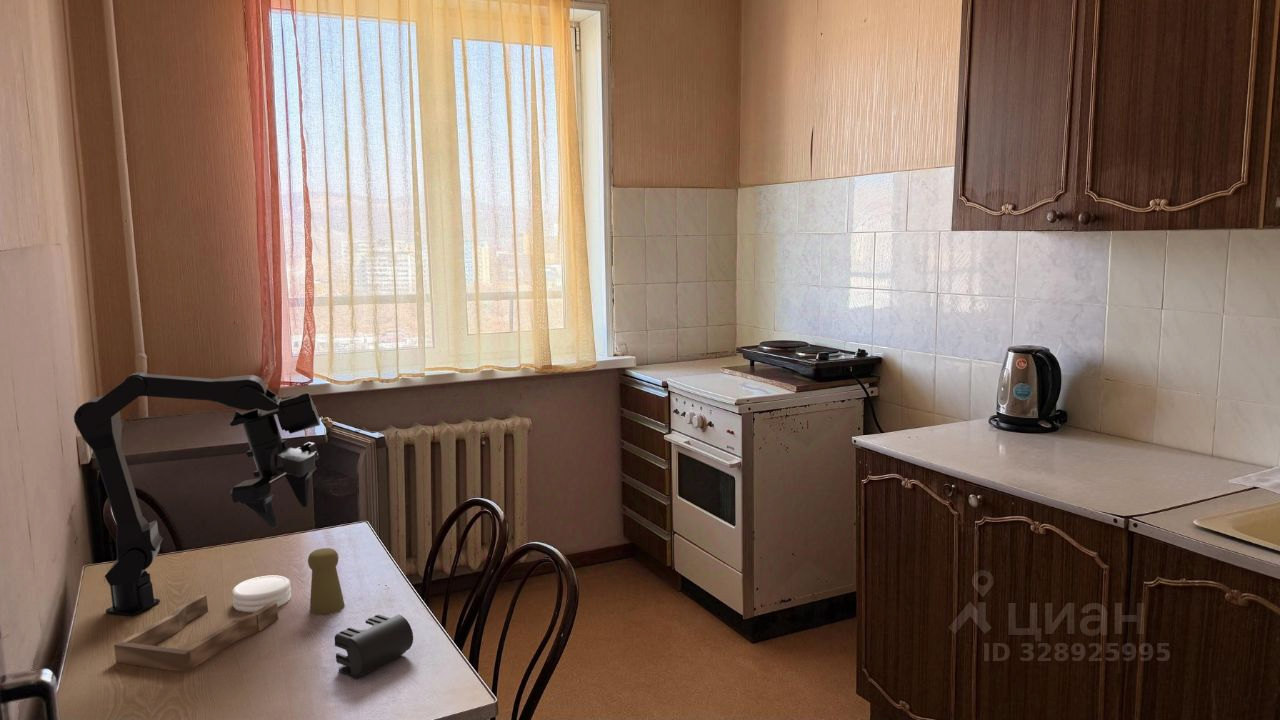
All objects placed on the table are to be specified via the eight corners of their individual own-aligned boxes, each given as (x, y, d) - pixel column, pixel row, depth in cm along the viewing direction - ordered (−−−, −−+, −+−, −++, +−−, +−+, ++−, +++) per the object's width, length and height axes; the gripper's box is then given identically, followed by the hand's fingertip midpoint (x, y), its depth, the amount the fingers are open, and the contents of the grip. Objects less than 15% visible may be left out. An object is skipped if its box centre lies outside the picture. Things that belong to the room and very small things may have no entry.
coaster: (243, 593, 170) (242, 576, 170) (297, 590, 171) (296, 572, 171) (225, 615, 160) (223, 597, 160) (282, 611, 162) (281, 593, 161)
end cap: (364, 685, 134) (361, 643, 133) (334, 673, 138) (331, 632, 137) (415, 658, 142) (412, 617, 141) (385, 647, 146) (382, 608, 145)
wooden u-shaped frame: (202, 610, 163) (201, 594, 162) (278, 619, 158) (276, 602, 157) (109, 661, 144) (107, 644, 143) (192, 673, 139) (191, 655, 138)
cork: (333, 616, 158) (328, 557, 157) (302, 614, 160) (297, 555, 158) (351, 602, 164) (346, 545, 163) (321, 600, 165) (316, 543, 164)
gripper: (266, 453, 157) (292, 534, 160) (330, 419, 174) (353, 493, 177) (216, 460, 160) (243, 539, 163) (284, 426, 177) (307, 498, 181)
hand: (290, 516), depth 171 cm, fingers open, 9 cm apart
